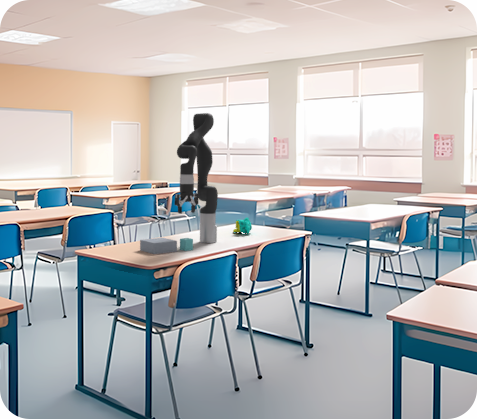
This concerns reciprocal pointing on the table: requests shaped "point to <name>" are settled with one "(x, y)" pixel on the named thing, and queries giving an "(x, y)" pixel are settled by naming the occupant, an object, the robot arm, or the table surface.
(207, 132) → the robot arm
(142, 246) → the slate block
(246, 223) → the teal lumpy shape
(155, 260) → the table surface
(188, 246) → the teal block
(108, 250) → the table surface
